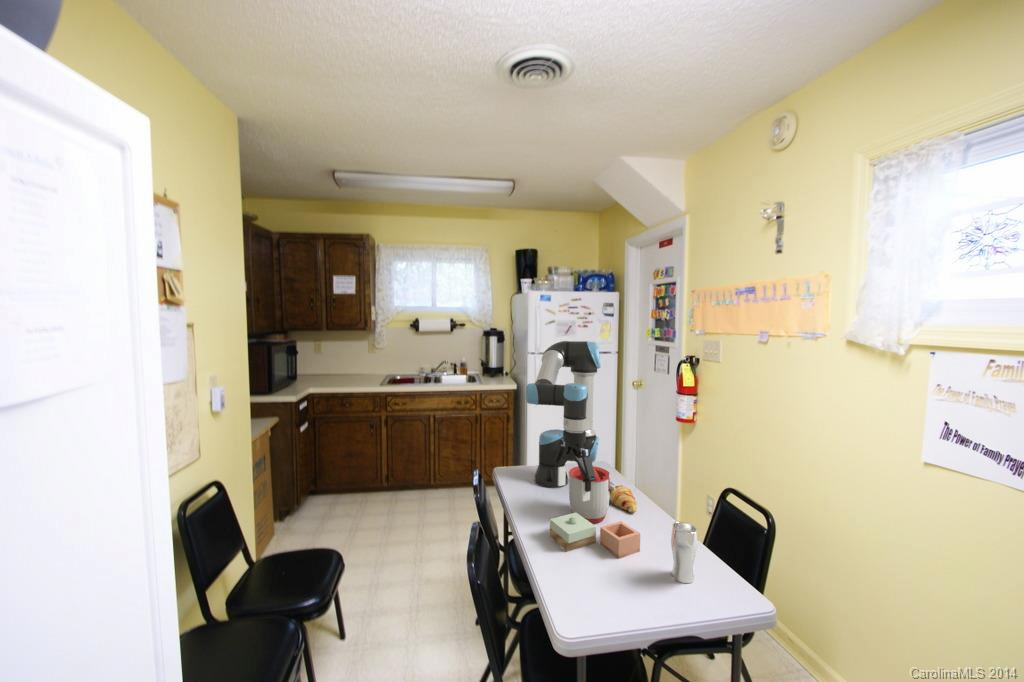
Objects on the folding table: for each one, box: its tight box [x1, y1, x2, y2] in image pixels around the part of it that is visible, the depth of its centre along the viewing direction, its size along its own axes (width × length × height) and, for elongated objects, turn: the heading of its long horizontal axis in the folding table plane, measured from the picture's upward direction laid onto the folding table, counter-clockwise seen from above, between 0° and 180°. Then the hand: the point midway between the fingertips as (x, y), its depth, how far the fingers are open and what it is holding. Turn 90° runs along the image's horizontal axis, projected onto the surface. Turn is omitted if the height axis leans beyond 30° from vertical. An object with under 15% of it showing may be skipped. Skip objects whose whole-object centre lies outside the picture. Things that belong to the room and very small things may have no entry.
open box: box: [599, 520, 641, 560], centre depth 136 cm, size 9×9×6 cm
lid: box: [549, 512, 597, 543], centre depth 140 cm, size 11×11×4 cm
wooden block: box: [548, 527, 597, 552], centre depth 140 cm, size 10×12×3 cm
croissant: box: [609, 484, 637, 514], centre depth 169 cm, size 21×10×8 cm, turn 13°
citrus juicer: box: [568, 465, 616, 524], centre depth 156 cm, size 16×17×20 cm
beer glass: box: [670, 521, 698, 584], centre depth 120 cm, size 7×7×15 cm
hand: (573, 492), depth 139 cm, fingers open, 13 cm apart
